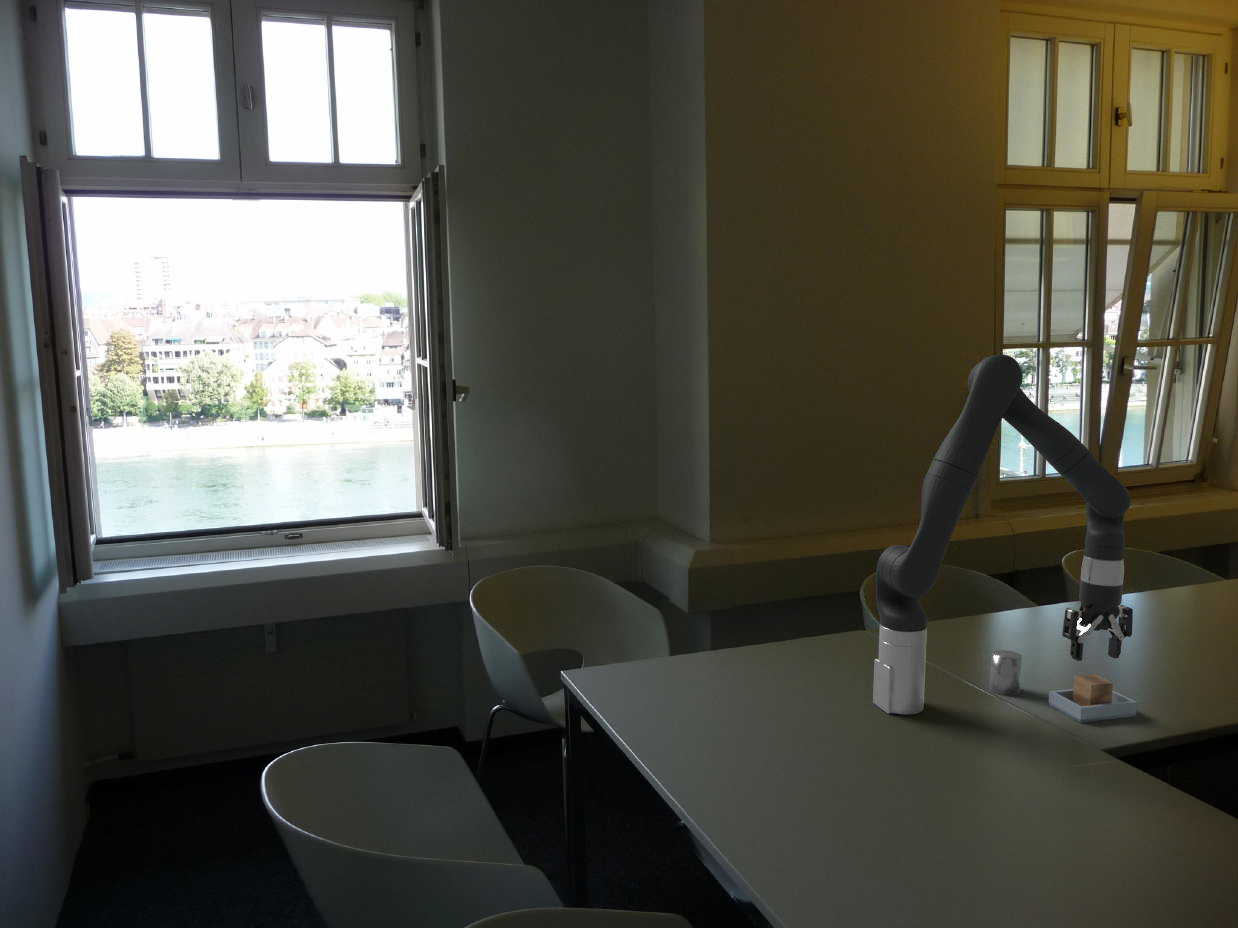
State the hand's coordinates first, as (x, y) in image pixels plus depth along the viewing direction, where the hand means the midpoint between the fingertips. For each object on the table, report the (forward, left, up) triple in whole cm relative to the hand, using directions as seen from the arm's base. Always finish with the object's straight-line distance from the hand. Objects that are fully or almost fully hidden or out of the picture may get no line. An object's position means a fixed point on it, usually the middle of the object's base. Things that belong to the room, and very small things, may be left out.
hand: (1095, 658), depth 190 cm
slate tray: (0, +1, -11) cm, 11 cm away
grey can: (-10, +15, -11) cm, 21 cm away
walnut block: (0, +1, -11) cm, 11 cm away
